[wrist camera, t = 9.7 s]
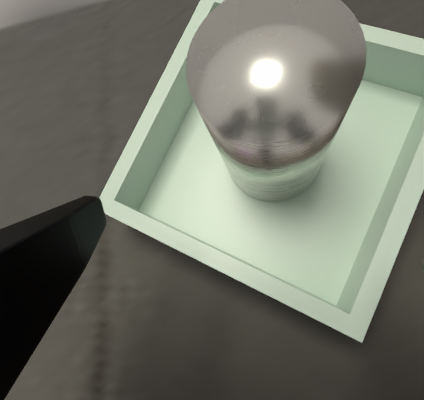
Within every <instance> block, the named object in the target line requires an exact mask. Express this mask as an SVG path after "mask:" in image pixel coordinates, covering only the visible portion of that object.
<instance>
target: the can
mask: <svg viewBox="0 0 424 400" xmlns="http://www.w3.org/2000/svg"><path fill="white" fill-rule="evenodd" d="M366 56H367V51H366V41H365V38H364V34H363V31H362V28H361V26H360V24H359V22H358V20H357V19H356V17H355V15H354V14H353V12H352V11H351V10H350V9H349V8H348V7H347V6H346V5H345V4H344V3H343V2H342V1H341V0H225V1H223V2H222V3H221V4H219V5H218V6H217V7H216V8H215V9H213V10H212V11H211V13H210V14H209V15H208V16H207V17H206V18H205V19H204V20H203V22H202V23H201V24H200V26H199V27H198V29H197V31H196V32H195V34H194V36H193V39H192V41H191V43H190V46H189V50H188V53H187V59H186V80H187V85H188V89H189V92H190V95H191V97H192V99H193V101H194V103H195V105H196V107H197V109H198V111H199V113H200V115H201V117H202V119H203V121H204V123H205V125H206V127H207V129H208V131H209V133H210V135H211V137H212V139H213V141H214V143H215V145H216V147H217V149H218V151H219V153H220V155H221V157H222V159H223V161H224V163H225V165H226V167H227V169H228V171H229V173H230V175H231V177H232V179H233V181H234V182H235V184H236V185H237V186H238V187H239V188H240V189H241V190H242V191H243V192H244V193H246V194H247V195H249V196H251V197H252V198H255V199H258V200H261V201H266V202H279V201H285V200H288V199H291V198H293V197H296V196H297V195H299V194H301V193H302V192H303V191H305V190H306V189H307V188H308V187H309V186H310V185H311V183H312V182H313V181H314V179H315V177H316V175H317V173H318V171H319V169H320V167H321V165H322V163H323V161H324V159H325V157H326V155H327V153H328V150H329V148H330V146H331V144H332V142H333V140H334V138H335V136H336V134H337V132H338V130H339V128H340V126H341V123H342V121H343V119H344V117H345V115H346V113H347V111H348V109H349V107H350V105H351V103H352V101H353V98H354V96H355V94H356V92H357V90H358V88H359V86H360V83H361V81H362V78H363V75H364V71H365V66H366Z"/></svg>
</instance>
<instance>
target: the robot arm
mask: <svg viewBox="0 0 424 400" xmlns="http://www.w3.org/2000/svg"><path fill="white" fill-rule="evenodd" d="M105 226H106V216H105V213H104V209H103V205H102V202H101V200H100V198H98V197H94V196H84V197H81V198H78V199H76V200H73V201H71V202H68V203H66V204H63V205H61V206H58V207H56V208H53V209H51V210H48V211H46V212H43V213H40V214H38V215H35V216H33V217H30V218H28V219H25V220H23V221H20V222H18V223H15V224H13V225H10V226H7V227H5V228H2V229H0V400H4V399H5V397H6V396H7V394H8V393H9V391H10V389H11V388H12V386H13V384H14V383H15V381H16V380H17V378H18V376H19V375H20V373H21V372H22V370H23V368H24V367H25V365H26V363H27V362H28V360H29V359H30V357H31V355H32V354H33V352H34V350H35V349H36V347H37V346H38V344H39V342H40V341H41V339H42V338H43V336H44V334H45V333H46V331H47V329H48V328H49V326H50V325H51V323H52V321H53V320H54V318H55V316H56V315H57V313H58V312H59V310H60V308H61V307H62V305H63V304H64V302H65V300H66V299H67V297H68V295H69V294H70V292H71V291H72V289H73V287H74V286H75V284H76V283H77V281H78V279H79V278H80V276H81V274H82V273H83V271H84V269H85V267H86V266H87V264H88V262H89V260H90V258H91V256H92V253H93V251H94V249H95V247H96V245H97V243H98V241H99V239H100V237H101V235H102V233H103V231H104V228H105ZM423 272H424V261H423Z"/></svg>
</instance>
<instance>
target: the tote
mask: <svg viewBox="0 0 424 400" xmlns="http://www.w3.org/2000/svg"><path fill="white" fill-rule="evenodd" d="M223 1H225V0H200V2H199V4H198V6H197V8H196V10H195V12H194V14H193V16H192V18H191V20H190V22H189V24H188V26H187V28H186V30H185V32H184V34H183V36H182V38H181V39H180V41H179V43H178V45H177V47H176V49H175V51H174V53H173V55H172V57H171V59H170V61H169V63H168V65H167V67H166V69H165V71H164V73H163V75H162V77H161V79H160V81H159V82H158V84H157V86H156V88H155V90H154V92H153V94H152V96H151V98H150V100H149V102H148V104H147V106H146V108H145V110H144V112H143V114H142V116H141V118H140V120H139V122H138V123H137V125H136V127H135V129H134V131H133V133H132V135H131V137H130V139H129V141H128V143H127V145H126V147H125V149H124V151H123V153H122V155H121V157H120V159H119V161H118V163H117V164H116V166H115V168H114V170H113V172H112V174H111V176H110V178H109V180H108V182H107V184H106V186H105V188H104V190H103V192H102V194H101V196H100V200H101V202H102V205H103V209H104V213H105V214H107V215H109V216H111V217H113V218H115V219H117V220H119V221H121V222H123V223H125V224H127V225H129V226H131V227H133V228H135V229H137V230H139V231H141V232H143V233H145V234H147V235H149V236H151V237H153V238H155V239H157V240H159V241H160V242H162V243H164V244H166V245H168V246H170V247H172V248H174V249H176V250H178V251H180V252H182V253H184V254H186V255H188V256H190V257H192V258H194V259H196V260H198V261H200V262H202V263H204V264H206V265H208V266H210V267H212V268H214V269H216V270H218V271H220V272H222V273H224V274H226V275H228V276H230V277H232V278H234V279H236V280H238V281H240V282H242V283H244V284H246V285H248V286H250V287H252V288H254V289H256V290H258V291H260V292H262V293H264V294H266V295H268V296H270V297H272V298H274V299H276V300H278V301H280V302H282V303H284V304H286V305H288V306H290V307H292V308H294V309H296V310H298V311H300V312H302V313H304V314H306V315H308V316H310V317H312V318H314V319H316V320H318V321H320V322H322V323H324V324H326V325H328V326H330V327H332V328H334V329H336V330H338V331H339V332H341V333H343V334H345V335H347V336H349V337H351V338H353V339H355V340H357V341H359V342H361V343H362V342H363V339H364V337H365V334H366V332H367V329H368V327H369V324H370V322H371V319H372V317H373V314H374V312H375V309H376V307H377V304H378V302H379V299H380V297H381V294H382V292H383V289H384V287H385V284H386V282H387V279H388V277H389V274H390V272H391V269H392V267H393V264H394V262H395V259H396V257H397V254H398V252H399V249H400V247H401V244H402V242H403V240H404V237H405V235H406V232H407V230H408V227H409V225H410V222H411V220H412V217H413V215H414V212H415V210H416V207H417V205H418V202H419V200H420V197H421V195H422V192H423V190H424V39H422V38H417V37H413V36H409V35H405V34H401V33H397V32H393V31H389V30H385V29H380V28H376V27H372V26H368V25H364V24H360V23H359V24H360V26H361V28H362V31H363V34H364V38H365V41H366V51H367V56H366V66H365V71H364V75H363V78H362V81H361V83H360V86H359V88H358V90H357V92H356V94H355V96H354V98H353V101H352V103H351V105H350V107H349V109H348V111H347V113H346V115H345V117H344V119H343V121H342V123H341V126H340V128H339V130H338V132H337V134H336V136H335V138H334V140H333V142H332V144H331V146H330V148H329V150H328V153H327V155H326V157H325V159H324V161H323V163H322V165H321V167H320V169H319V171H318V173H317V175H316V177H315V179H314V181H313V182H312V183H311V185H310V186H309V187H308V188H307V189H306V190H305V191H303V192H302V193H301V194H299V195H297V196H296V197H293V198H291V199H288V200H285V201H279V202H266V201H261V200H258V199H255V198H252V197H251V196H249V195H247V194H246V193H244V192H243V191H242V190H241V189H240V188H239V187H238V186H237V185H236V184H235V182H234V181H233V179H232V177H231V175H230V173H229V171H228V169H227V167H226V165H225V163H224V161H223V159H222V157H221V155H220V153H219V151H218V149H217V147H216V145H215V143H214V141H213V139H212V137H211V135H210V133H209V131H208V129H207V127H206V125H205V123H204V121H203V119H202V117H201V115H200V113H199V111H198V109H197V107H196V105H195V103H194V101H193V99H192V97H191V95H190V92H189V89H188V85H187V80H186V59H187V53H188V50H189V46H190V43H191V41H192V39H193V36H194V34H195V32H196V31H197V29H198V27H199V26H200V24H201V23H202V22H203V20H204V19H205V18H206V17H207V16H208V15H209V14H210V13H211V11H212V10H213V9H215V8H216V7H217V6H218V5H219V4H221V3H222V2H223Z"/></svg>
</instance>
